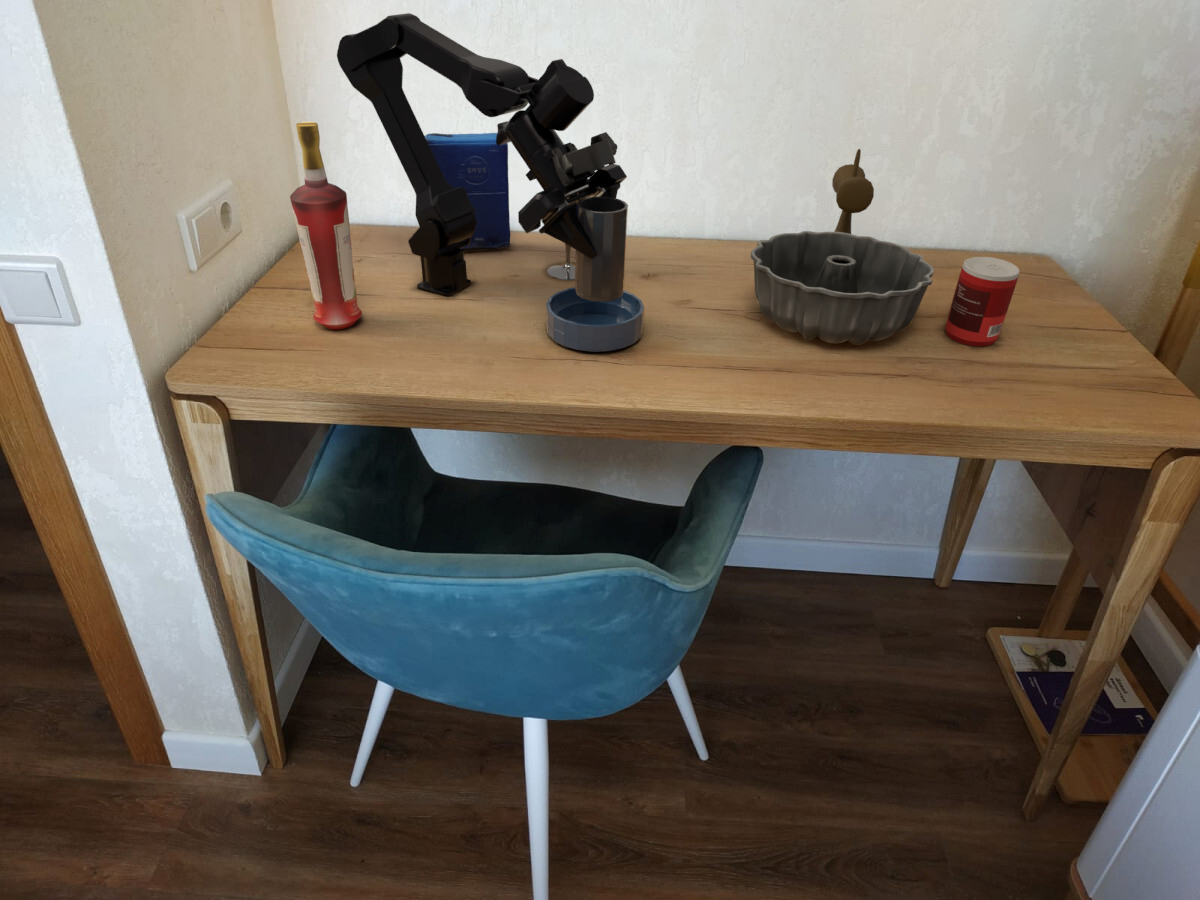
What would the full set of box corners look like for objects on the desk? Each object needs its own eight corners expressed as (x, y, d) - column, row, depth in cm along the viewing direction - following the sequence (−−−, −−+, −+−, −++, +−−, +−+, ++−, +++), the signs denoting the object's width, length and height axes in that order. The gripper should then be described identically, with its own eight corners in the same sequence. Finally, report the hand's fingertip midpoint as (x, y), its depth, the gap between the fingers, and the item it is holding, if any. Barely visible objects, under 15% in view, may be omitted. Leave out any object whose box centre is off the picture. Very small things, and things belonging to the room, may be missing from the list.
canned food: (996, 329, 127) (1018, 260, 121) (998, 351, 121) (1022, 280, 115) (943, 320, 129) (962, 253, 123) (943, 342, 123) (963, 272, 116)
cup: (571, 299, 115) (573, 210, 108) (579, 280, 121) (580, 195, 114) (620, 303, 114) (624, 214, 107) (625, 284, 120) (630, 198, 113)
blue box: (431, 256, 145) (420, 138, 134) (430, 245, 150) (419, 130, 138) (512, 252, 148) (509, 136, 137) (509, 242, 152) (505, 128, 141)
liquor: (315, 313, 125) (280, 118, 109) (365, 310, 126) (337, 117, 110) (311, 335, 119) (273, 131, 103) (364, 331, 120) (334, 130, 105)
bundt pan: (748, 279, 141) (755, 221, 135) (908, 296, 137) (923, 237, 131) (737, 348, 119) (746, 283, 114) (927, 371, 115) (946, 304, 109)
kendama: (822, 273, 144) (844, 155, 133) (816, 253, 152) (837, 140, 140) (857, 276, 143) (882, 157, 132) (850, 256, 151) (873, 142, 140)
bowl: (528, 340, 119) (528, 311, 117) (576, 305, 130) (576, 278, 127) (615, 364, 114) (616, 334, 112) (657, 326, 125) (659, 298, 122)
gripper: (535, 127, 100) (608, 236, 101) (618, 102, 113) (682, 199, 114) (487, 181, 108) (556, 281, 109) (570, 152, 121) (630, 242, 122)
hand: (609, 249), depth 113 cm, fingers closed on cup, 7 cm apart
